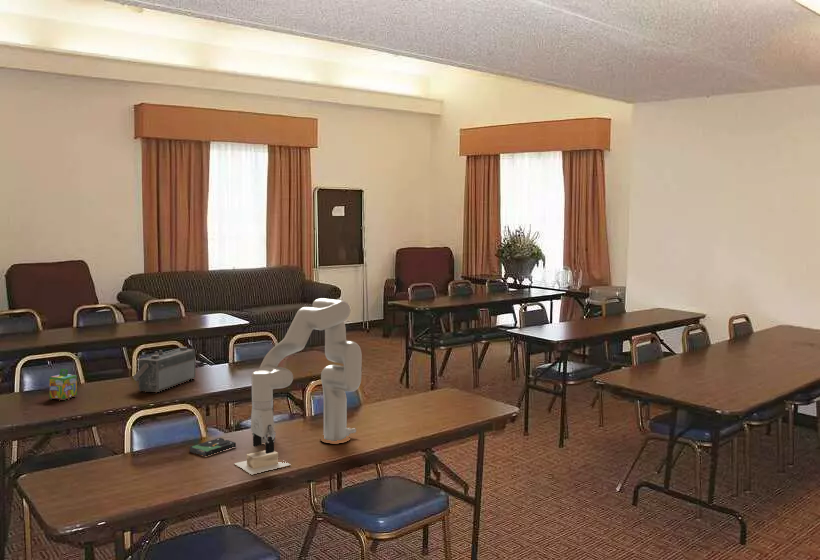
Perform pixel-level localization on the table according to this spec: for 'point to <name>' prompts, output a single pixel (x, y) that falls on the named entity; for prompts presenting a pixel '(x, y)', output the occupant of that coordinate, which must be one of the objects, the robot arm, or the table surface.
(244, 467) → the mat
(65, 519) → the table surface
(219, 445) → the disk drive
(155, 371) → the radio
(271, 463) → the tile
